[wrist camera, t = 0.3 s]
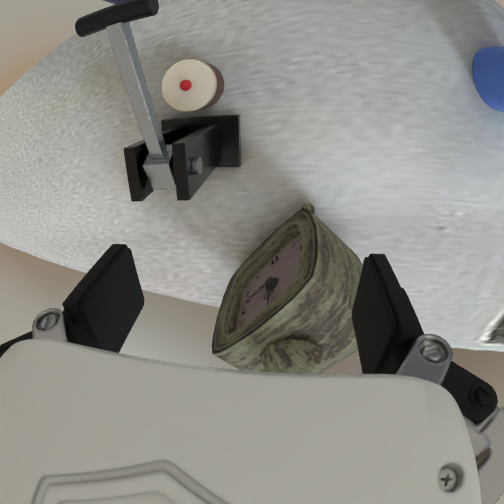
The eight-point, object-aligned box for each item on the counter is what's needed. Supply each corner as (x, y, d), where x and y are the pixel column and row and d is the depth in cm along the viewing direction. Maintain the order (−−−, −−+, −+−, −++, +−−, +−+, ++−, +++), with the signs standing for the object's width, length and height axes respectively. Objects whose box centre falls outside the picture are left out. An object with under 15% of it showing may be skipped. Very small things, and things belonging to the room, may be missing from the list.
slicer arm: (88, 13, 11) (68, 24, 10) (159, -10, 11) (143, -3, 9) (146, 171, 24) (138, 191, 23) (200, 168, 24) (194, 189, 22)
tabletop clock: (307, 187, 34) (339, 364, 13) (356, 233, 36) (416, 410, 15) (232, 261, 40) (186, 434, 19) (280, 297, 43) (271, 464, 22)
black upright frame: (164, 119, 31) (101, 141, 19) (240, 114, 30) (211, 130, 18) (169, 166, 34) (113, 211, 22) (241, 164, 33) (216, 210, 22)
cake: (175, 65, 28) (155, 62, 23) (223, 60, 27) (211, 55, 22) (177, 110, 30) (158, 115, 26) (224, 107, 30) (213, 110, 25)
